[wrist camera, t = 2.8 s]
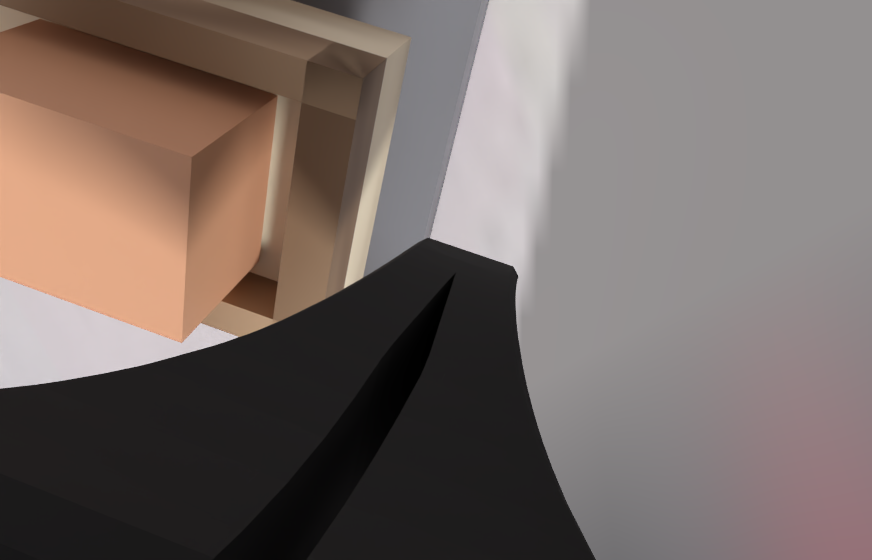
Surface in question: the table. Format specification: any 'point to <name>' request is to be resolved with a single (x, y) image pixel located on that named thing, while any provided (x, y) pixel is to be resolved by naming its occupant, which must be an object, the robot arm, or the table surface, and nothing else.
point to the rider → (128, 177)
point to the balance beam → (316, 121)
